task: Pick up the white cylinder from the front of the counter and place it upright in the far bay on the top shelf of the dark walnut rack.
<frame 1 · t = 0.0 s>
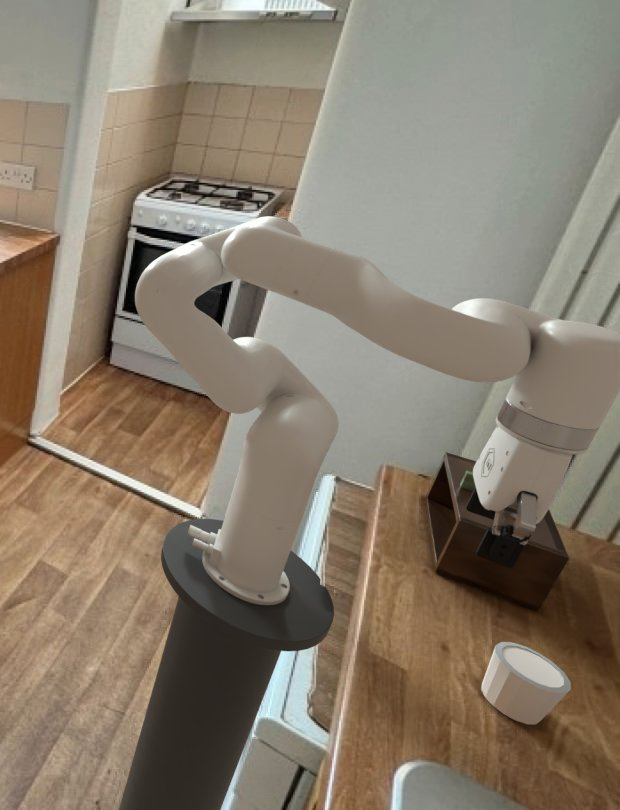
hand: (487, 536, 76), 23 cm above the countertop, tool pointing down, fingers open, 9 cm apart
white cylinder: (509, 703, 79), on the countertop
rack: (474, 549, 104), on the countertop
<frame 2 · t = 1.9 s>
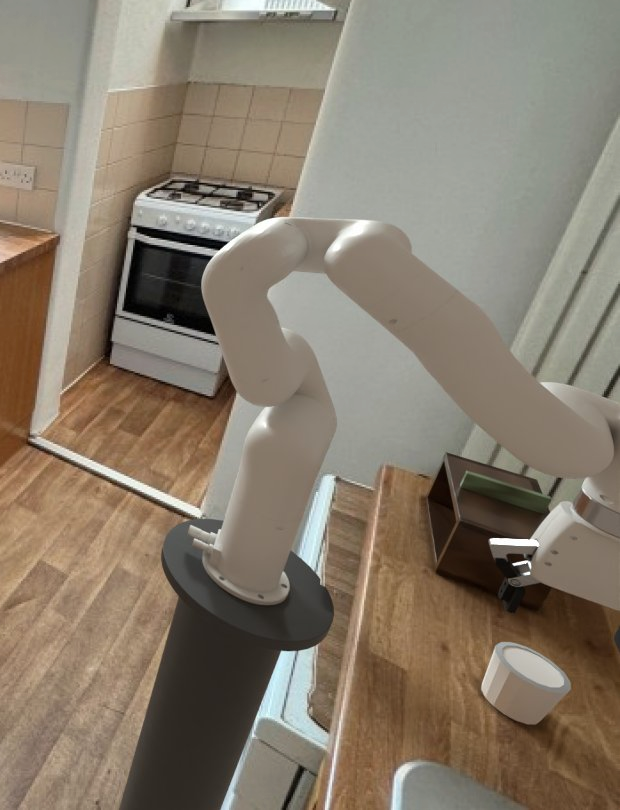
hand: (562, 626, 74), 14 cm above the countertop, tool pointing down, fingers open, 9 cm apart
nothing on the countertop moved.
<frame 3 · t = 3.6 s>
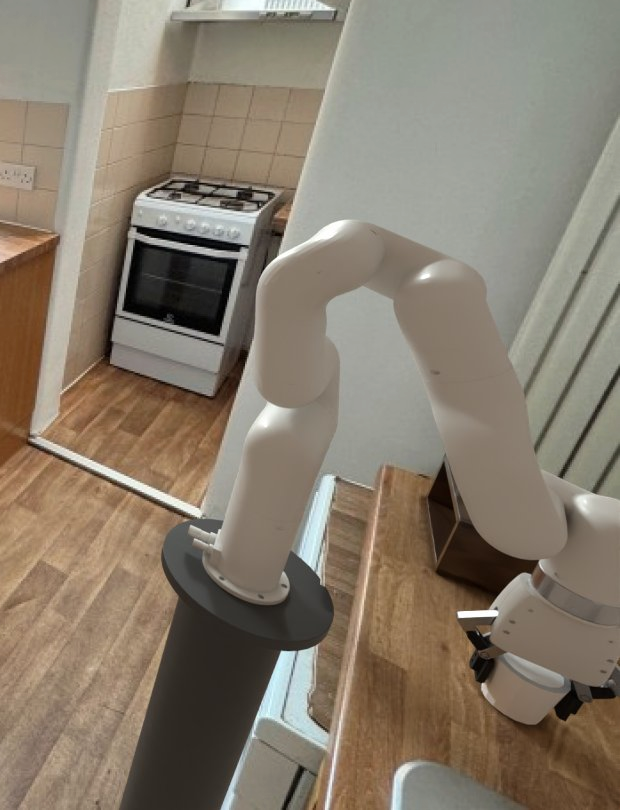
hand: (517, 691, 78), 2 cm above the countertop, tool pointing down, fingers closed on white cylinder, 6 cm apart
white cylinder: (509, 703, 79), on the countertop, touching gripper
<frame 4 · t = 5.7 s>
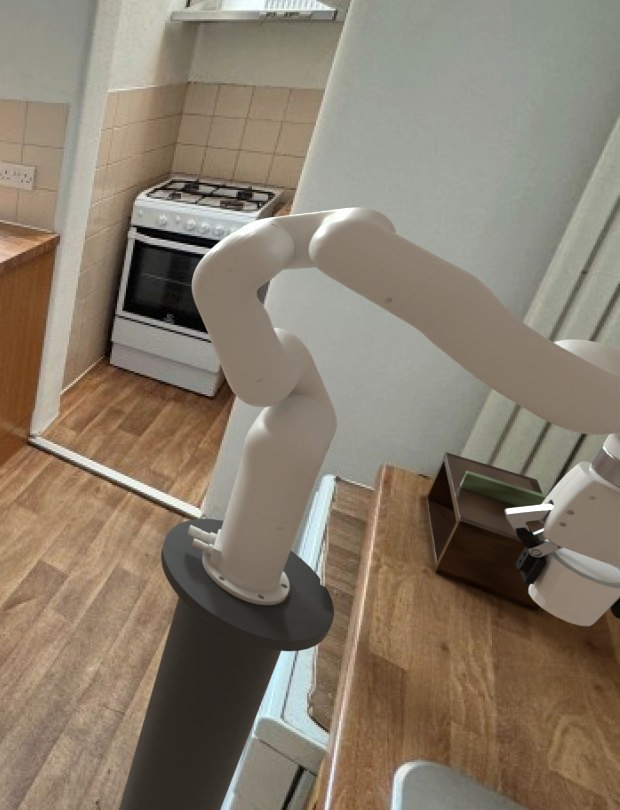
hand: (569, 592, 72), 19 cm above the countertop, tool pointing down, fingers closed on white cylinder, 6 cm apart
white cylinder: (559, 606, 73), point 17 cm above the countertop, touching gripper
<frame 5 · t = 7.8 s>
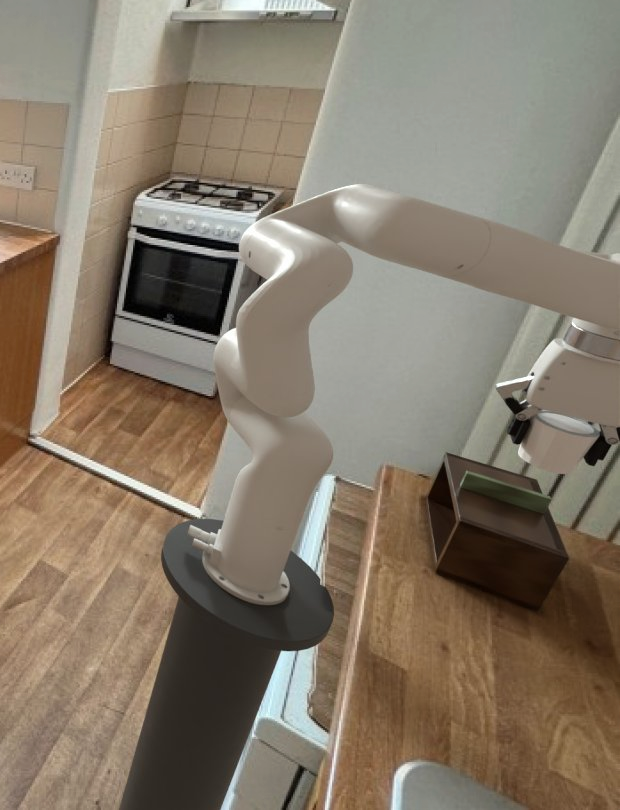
hand: (550, 449, 88), 26 cm above the countertop, tool pointing down, fingers closed on white cylinder, 6 cm apart
white cylinder: (543, 462, 89), point 23 cm above the countertop, touching gripper
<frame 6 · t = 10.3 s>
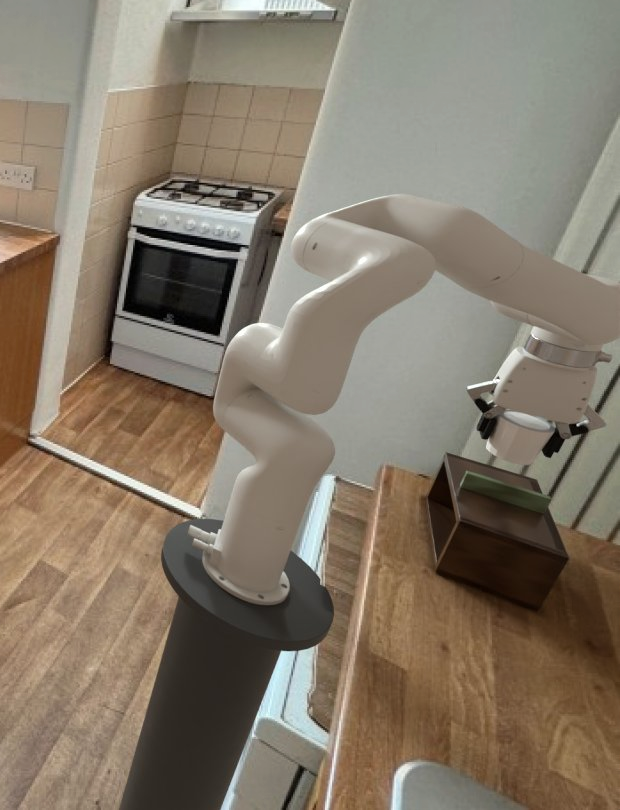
hand: (513, 443, 101), 19 cm above the countertop, tool pointing down, fingers closed on white cylinder, 6 cm apart
white cylinder: (508, 455, 102), point 17 cm above the countertop, touching gripper
when the fingers open (13 cm above the countertop, at t = 12.2 s): white cylinder stays where it is, resting on rack.
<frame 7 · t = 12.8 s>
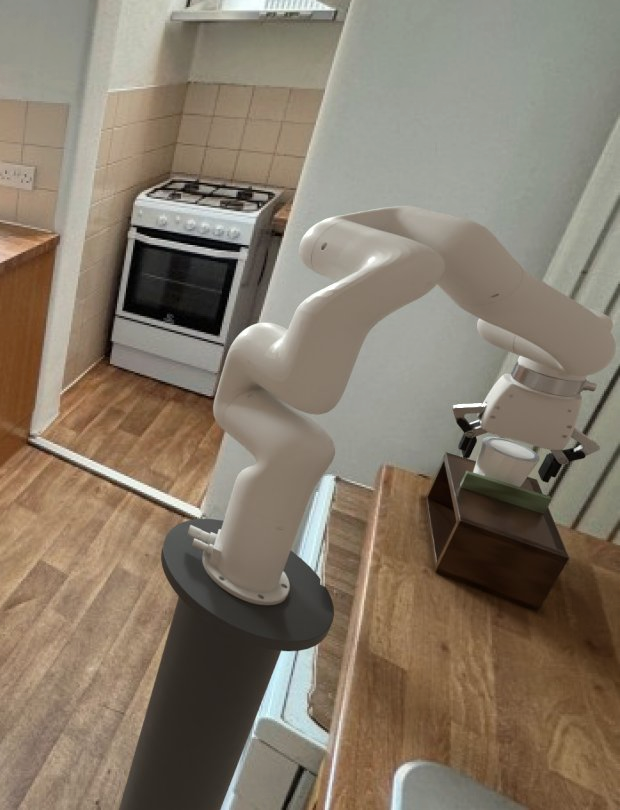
hand: (502, 465, 102), 14 cm above the countertop, tool pointing down, fingers open, 9 cm apart
white cylinder: (494, 482, 104), point 11 cm above the countertop, touching rack
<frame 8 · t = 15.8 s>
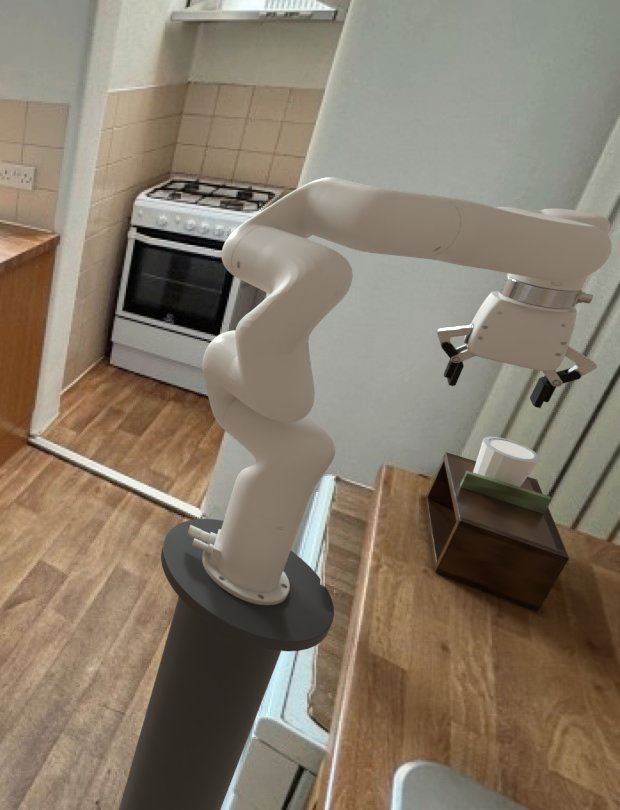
hand: (491, 392, 94), 30 cm above the countertop, tool pointing down, fingers open, 9 cm apart
nothing on the countertop moved.
at the end: white cylinder inside the target area on the rack (0.6 cm from its centre), point 10.8 cm above the rack's base; white cylinder tilted 0° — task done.
